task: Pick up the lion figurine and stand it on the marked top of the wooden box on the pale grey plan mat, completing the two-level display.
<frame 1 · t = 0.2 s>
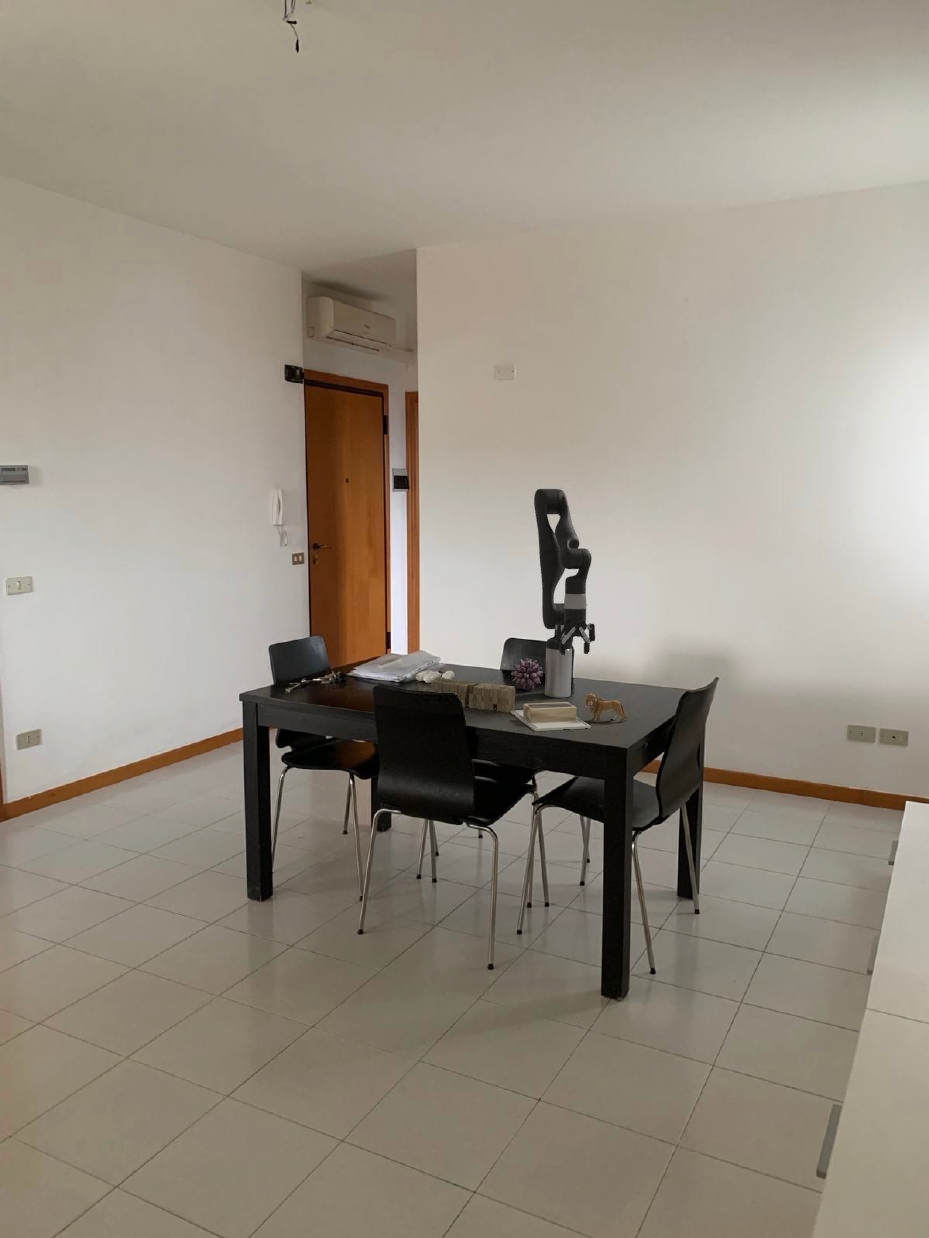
hand: (574, 654, 311), 17 cm above the table, tool pointing down, fingers open, 8 cm apart
flower: (526, 690, 336), on the table
lion figurine: (604, 721, 290), on the table
plan mat: (549, 720, 290), on the table
wooden box: (549, 711, 289), on the plan mat, point 3 cm above the table
block tower: (473, 706, 309), on the table
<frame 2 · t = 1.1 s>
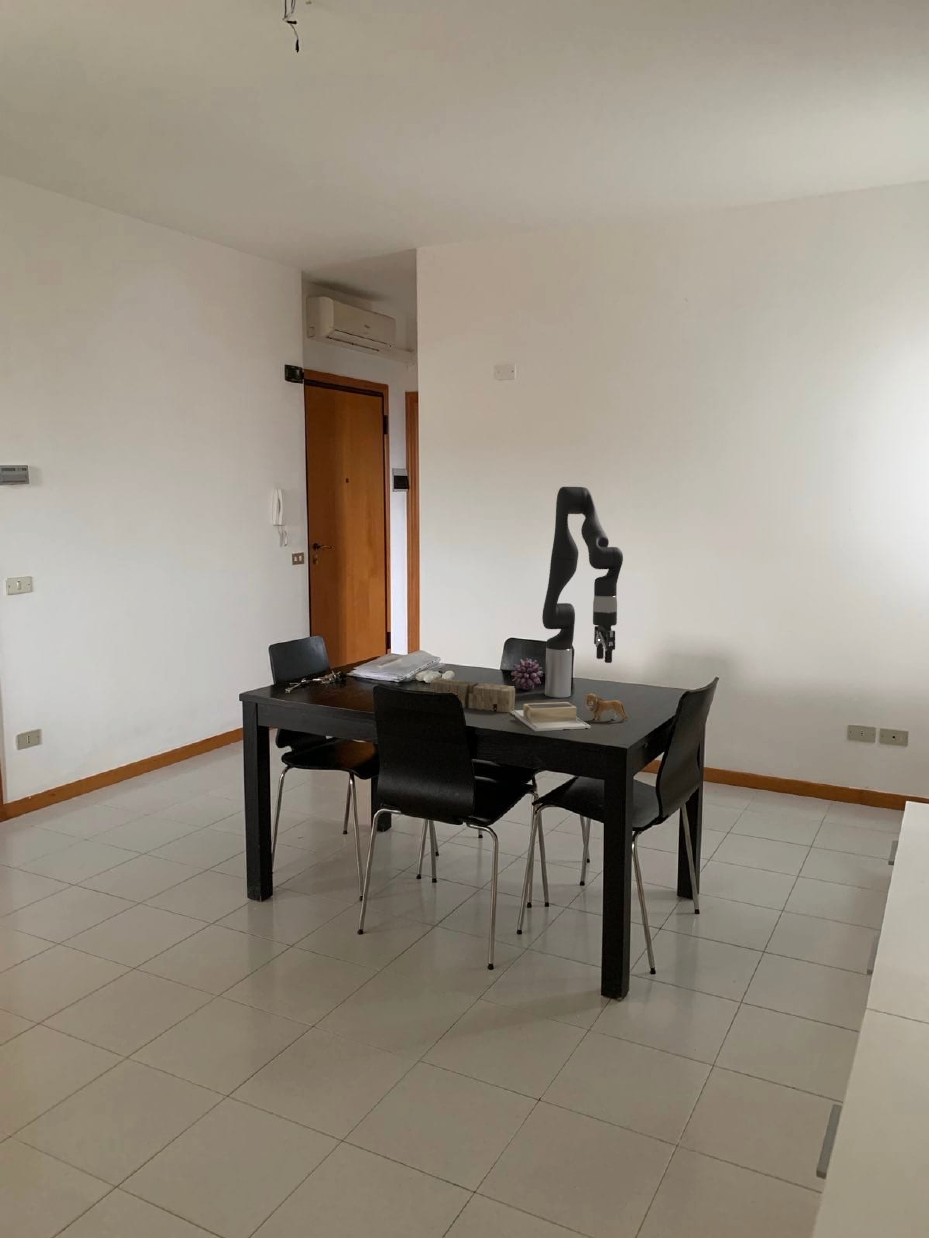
hand: (604, 660, 290), 19 cm above the table, tool pointing down, fingers open, 8 cm apart
nothing on the table moved.
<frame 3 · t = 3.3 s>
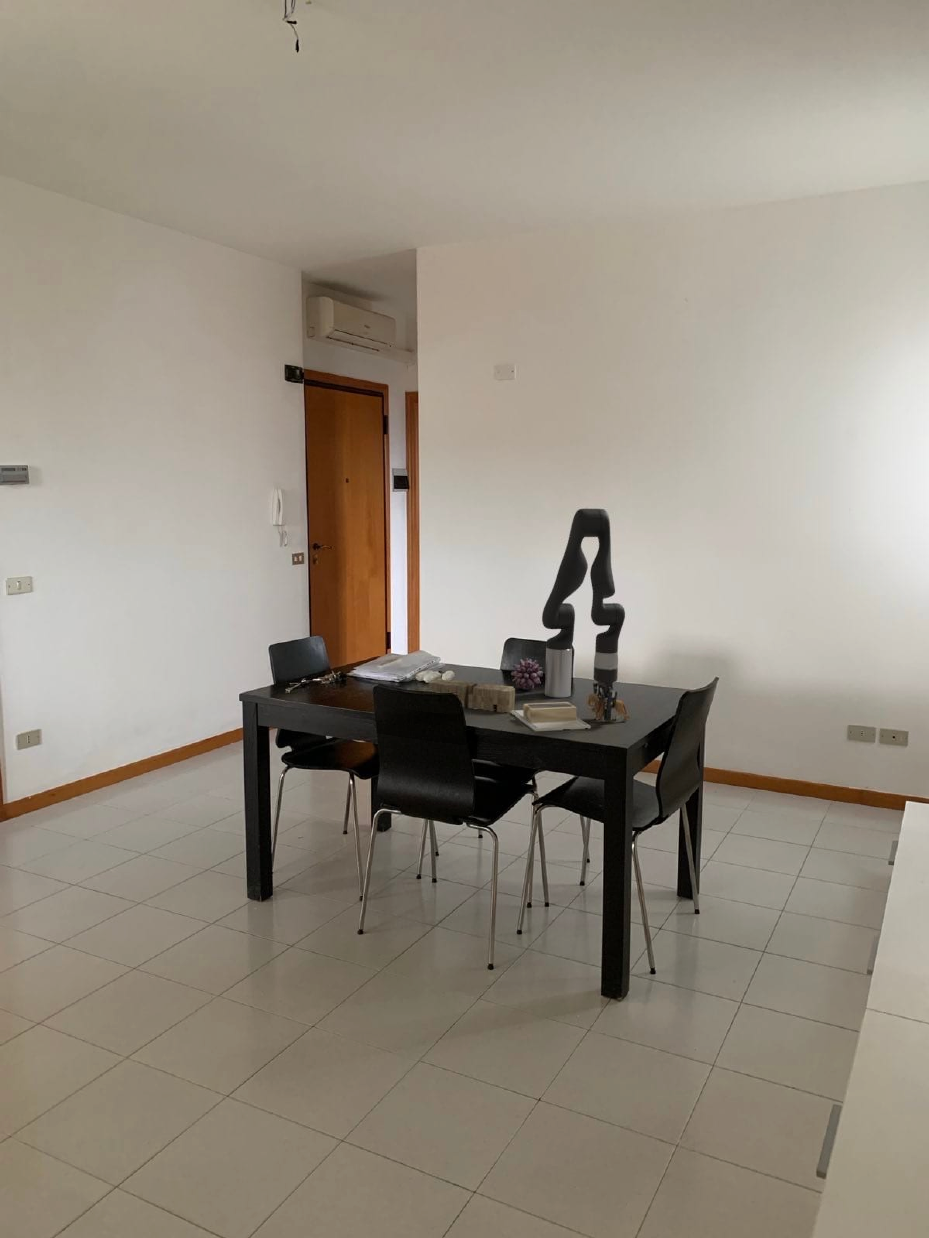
hand: (603, 718, 291), 1 cm above the table, tool pointing down, fingers open, 4 cm apart
lion figurine: (606, 721, 290), on the table, touching gripper
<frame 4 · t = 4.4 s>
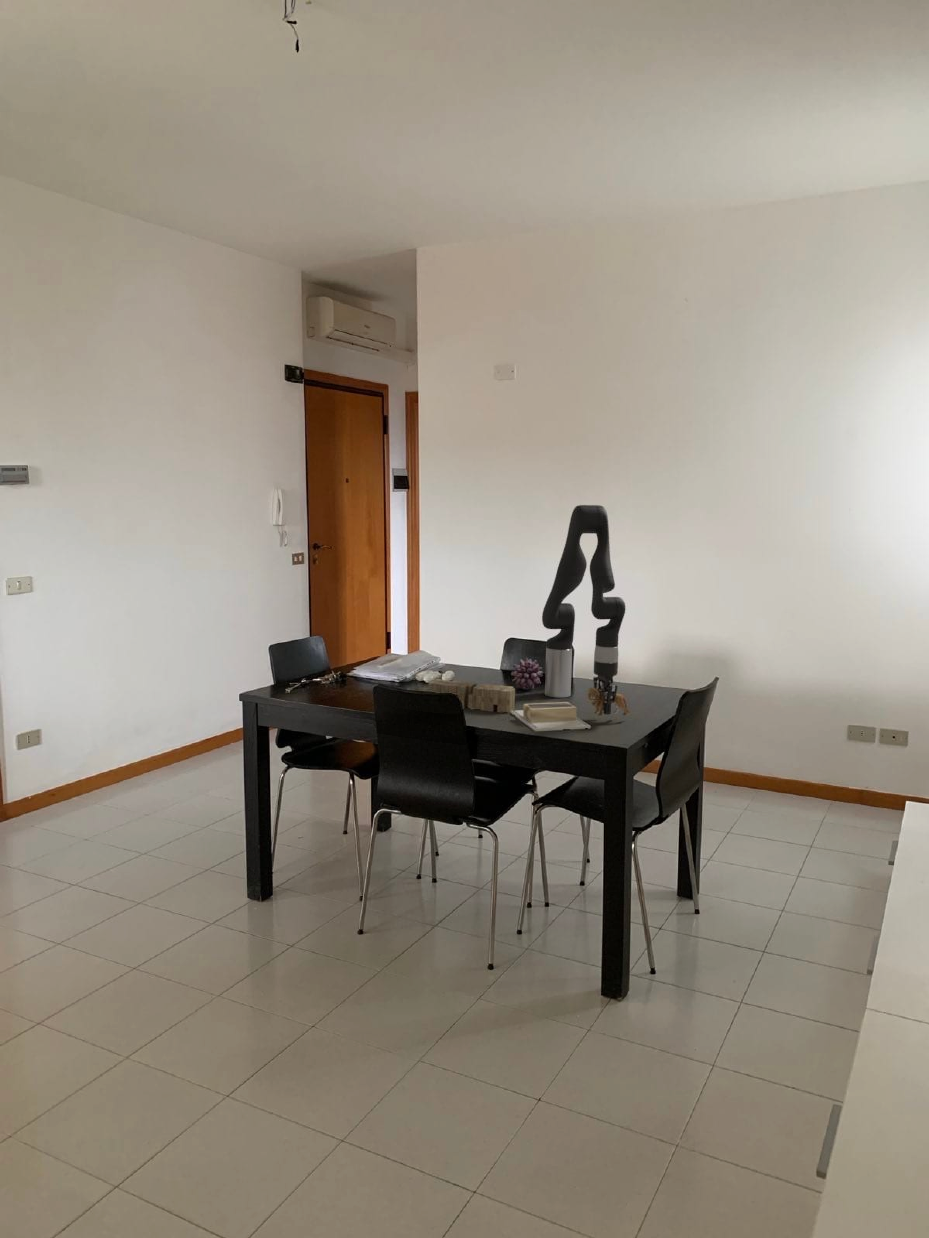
hand: (603, 712, 290), 3 cm above the table, tool pointing down, fingers closed on lion figurine, 4 cm apart
lion figurine: (607, 715, 290), point 2 cm above the table, touching gripper
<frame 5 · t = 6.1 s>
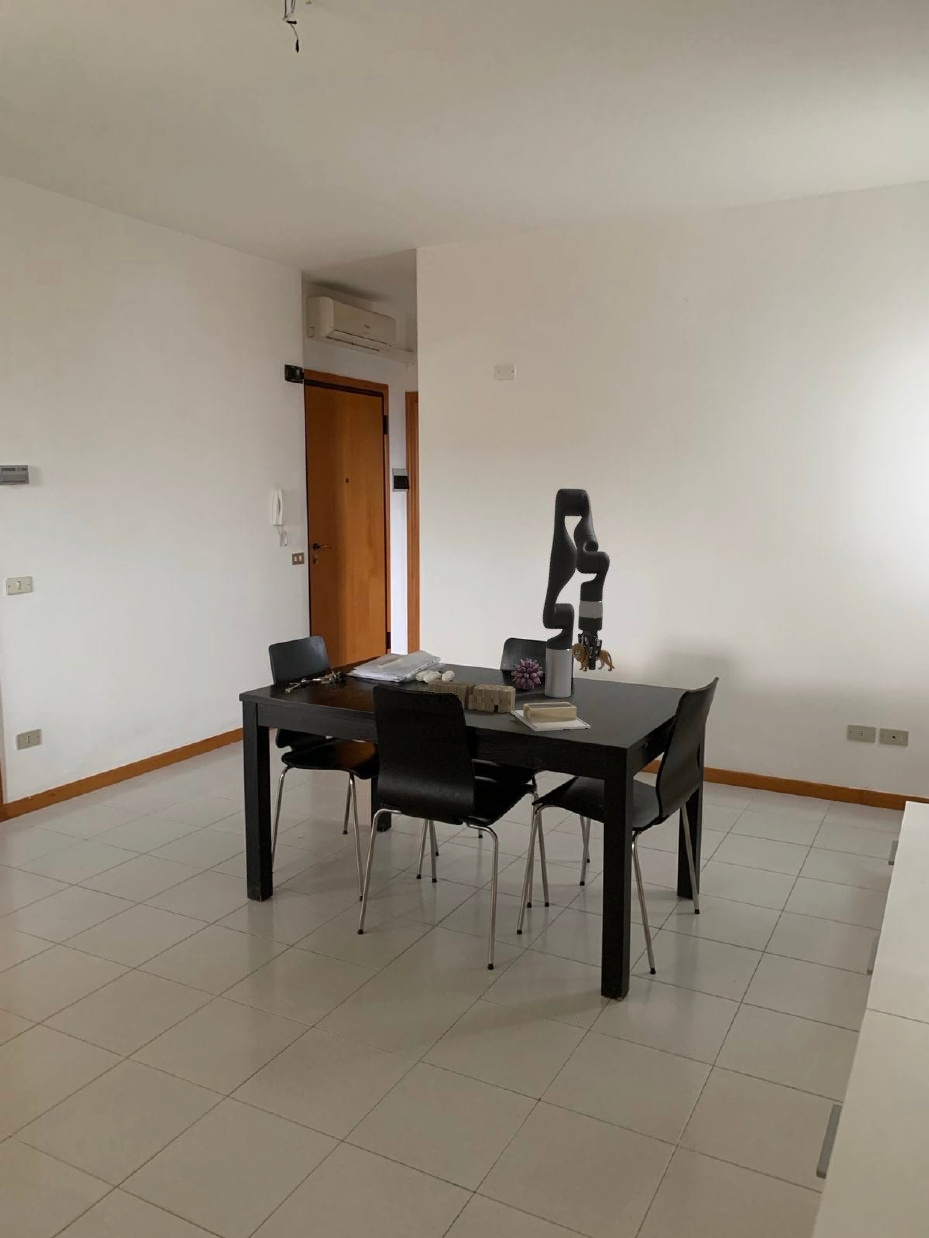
hand: (588, 668, 288), 17 cm above the table, tool pointing down, fingers closed on lion figurine, 4 cm apart
lion figurine: (592, 671, 288), point 16 cm above the table, touching gripper
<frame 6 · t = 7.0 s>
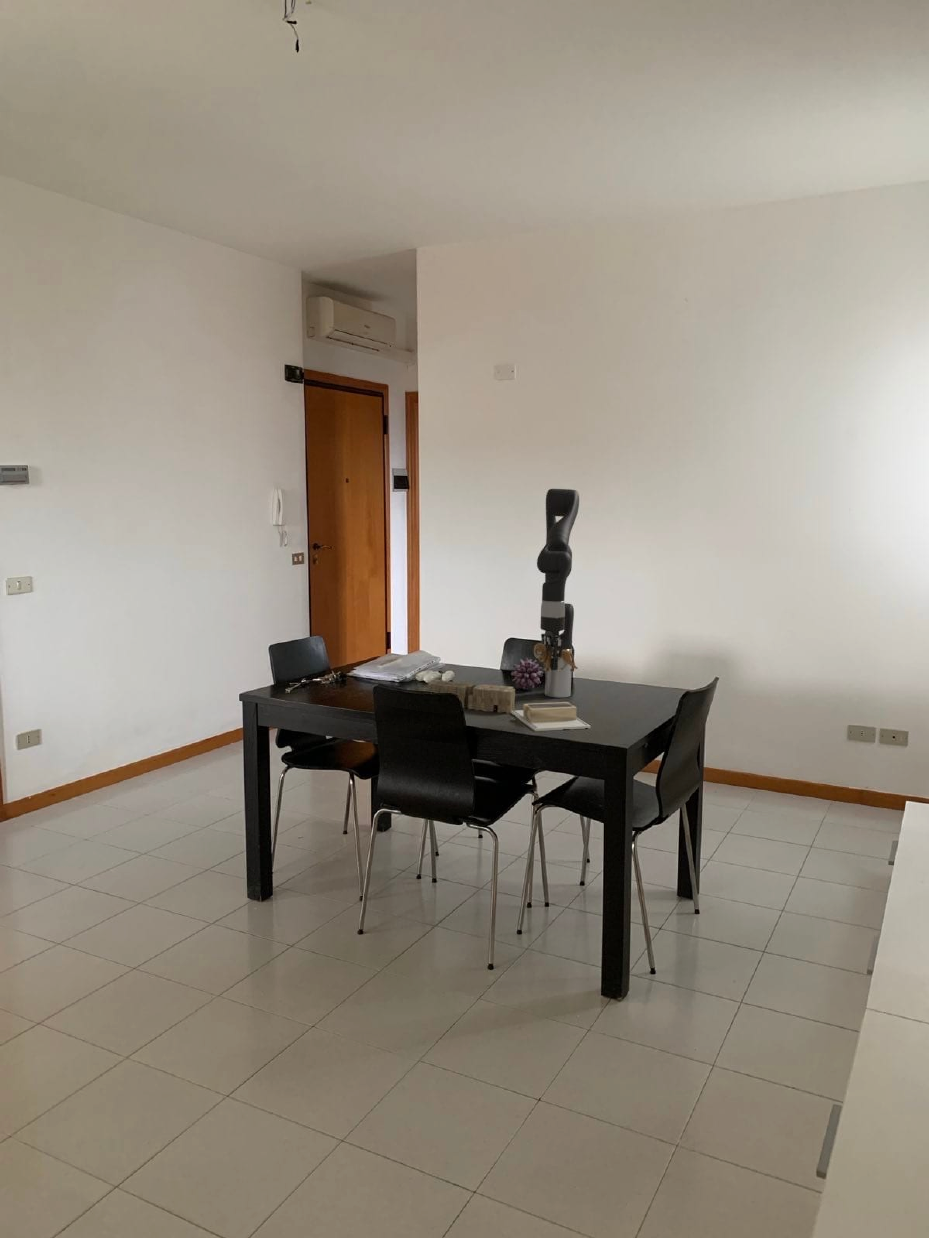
hand: (551, 668, 288), 17 cm above the table, tool pointing down, fingers closed on lion figurine, 4 cm apart
lion figurine: (554, 671, 287), point 16 cm above the table, touching gripper
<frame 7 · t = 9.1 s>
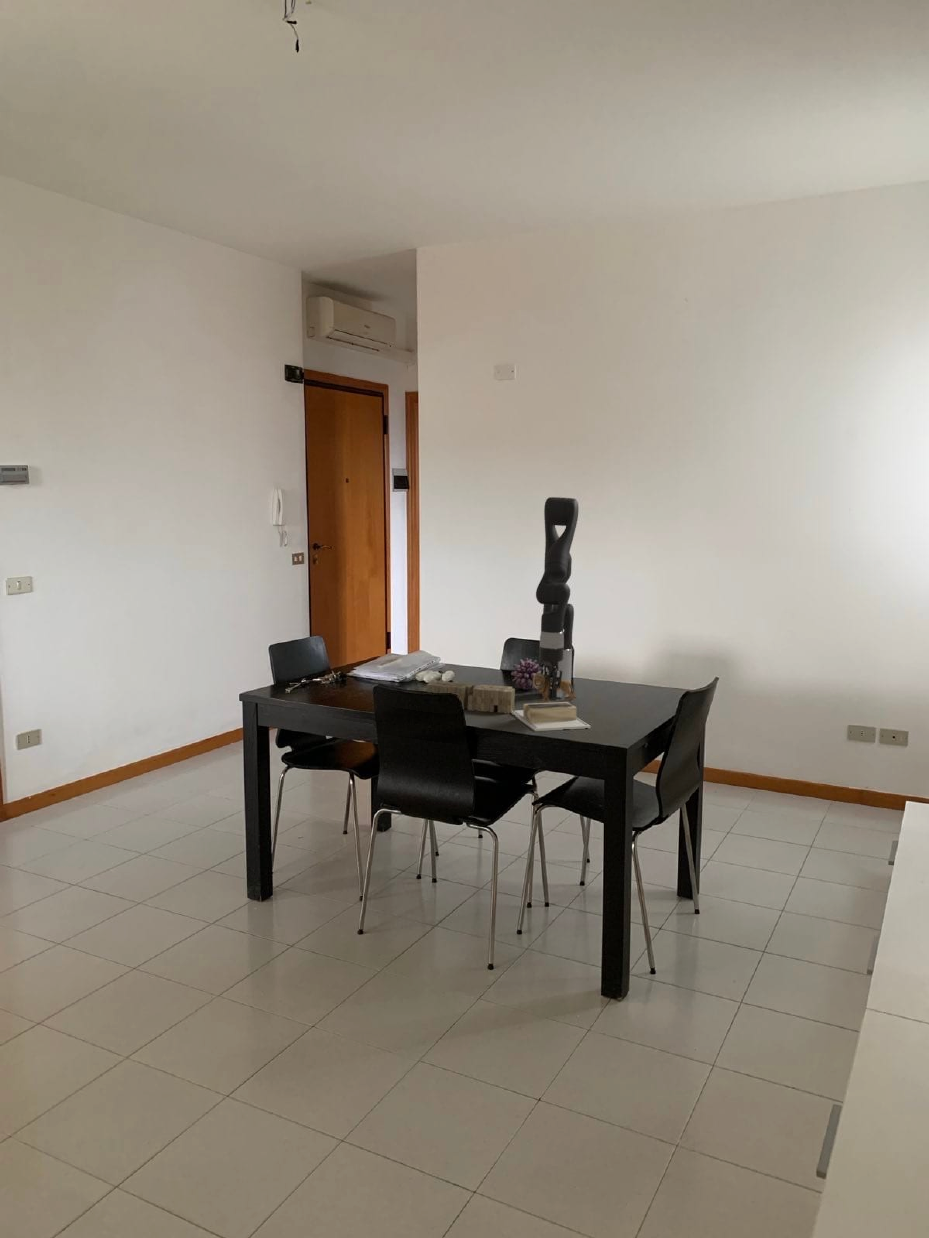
hand: (550, 698, 289), 7 cm above the table, tool pointing down, fingers closed on lion figurine, 4 cm apart
lion figurine: (553, 701, 289), point 6 cm above the table, touching gripper
when the fingers open (7 cm above the table, at t = 9.5 s): lion figurine drops 1 cm, resting on wooden box.
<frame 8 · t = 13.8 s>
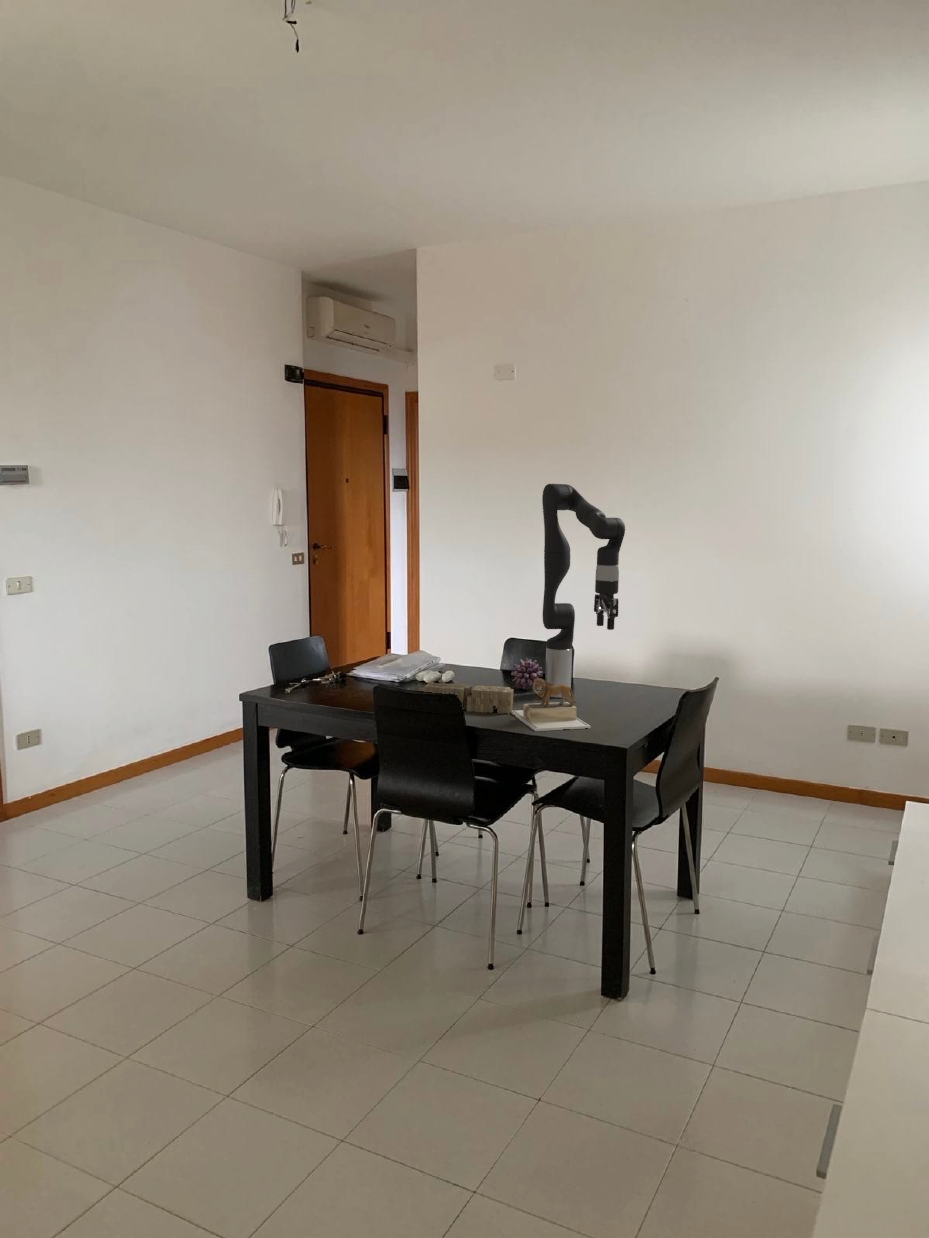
hand: (605, 627, 300), 28 cm above the table, tool pointing down, fingers open, 8 cm apart
lion figurine: (553, 706, 289), point 5 cm above the table, touching wooden box
block tower: (469, 710, 304), on the table
everything else where it was.
at the end: lion figurine 1.2 cm off-centre on the wooden box, point 4.7 cm above the wooden box's base; lion figurine tilted 0°; the gripper is holding nothing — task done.
